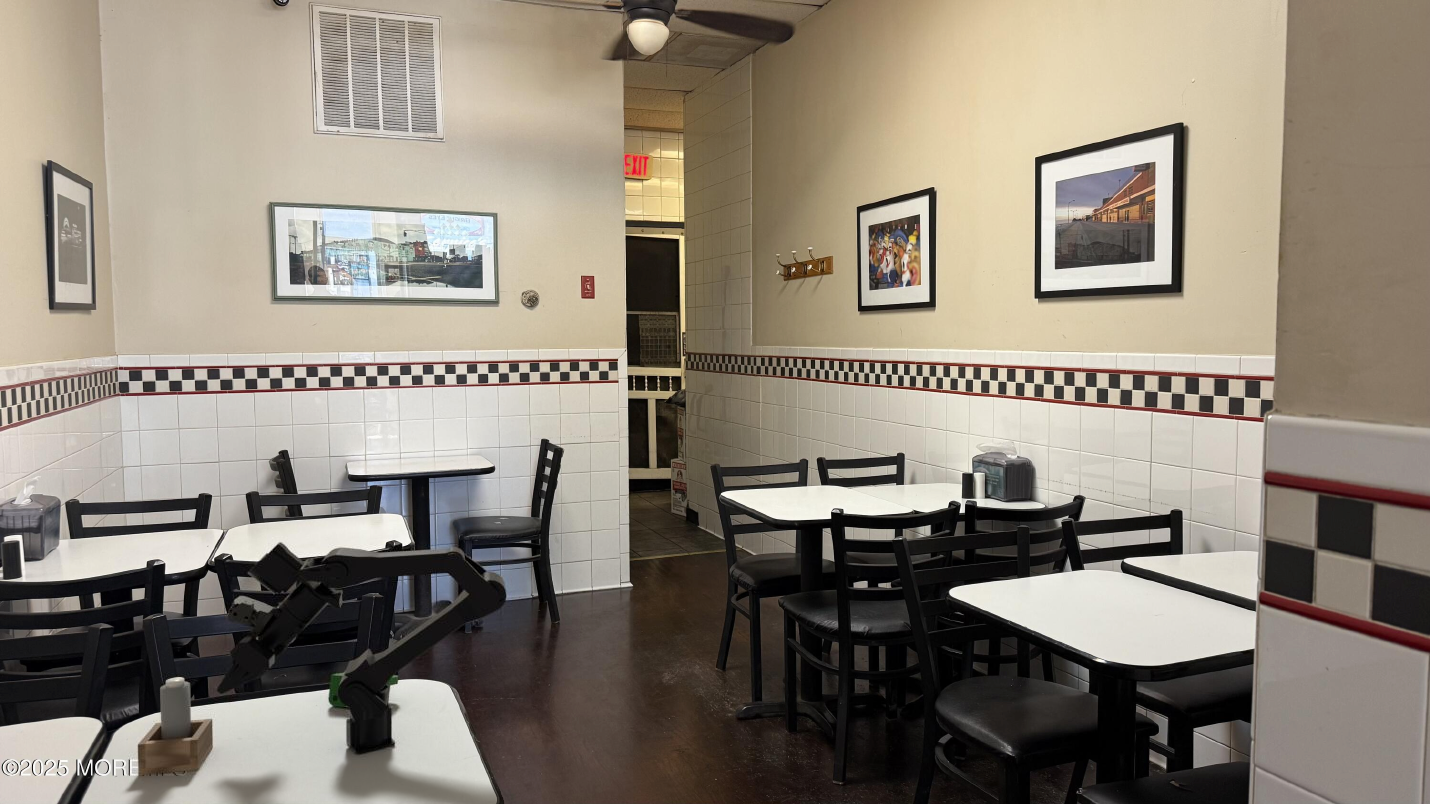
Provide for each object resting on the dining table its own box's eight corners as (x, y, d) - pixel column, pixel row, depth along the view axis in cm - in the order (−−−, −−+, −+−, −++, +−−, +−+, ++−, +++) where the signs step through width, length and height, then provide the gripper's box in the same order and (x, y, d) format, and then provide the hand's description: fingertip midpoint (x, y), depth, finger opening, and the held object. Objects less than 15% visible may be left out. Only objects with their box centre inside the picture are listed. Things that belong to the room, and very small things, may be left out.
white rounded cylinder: (179, 747, 153) (177, 674, 153) (197, 751, 152) (195, 677, 151) (155, 757, 149) (153, 682, 149) (174, 762, 148) (172, 686, 147)
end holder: (212, 747, 156) (212, 718, 155) (197, 769, 148) (197, 739, 147) (156, 752, 154) (156, 722, 153) (138, 775, 145) (137, 744, 145)
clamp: (386, 723, 177) (408, 680, 178) (370, 728, 171) (393, 683, 172) (337, 693, 180) (359, 651, 181) (319, 697, 174) (342, 653, 175)
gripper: (273, 568, 161) (207, 636, 159) (242, 592, 143) (167, 668, 141) (323, 609, 163) (258, 677, 161) (298, 638, 145) (224, 714, 143)
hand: (227, 682), depth 152 cm, fingers open, 9 cm apart
